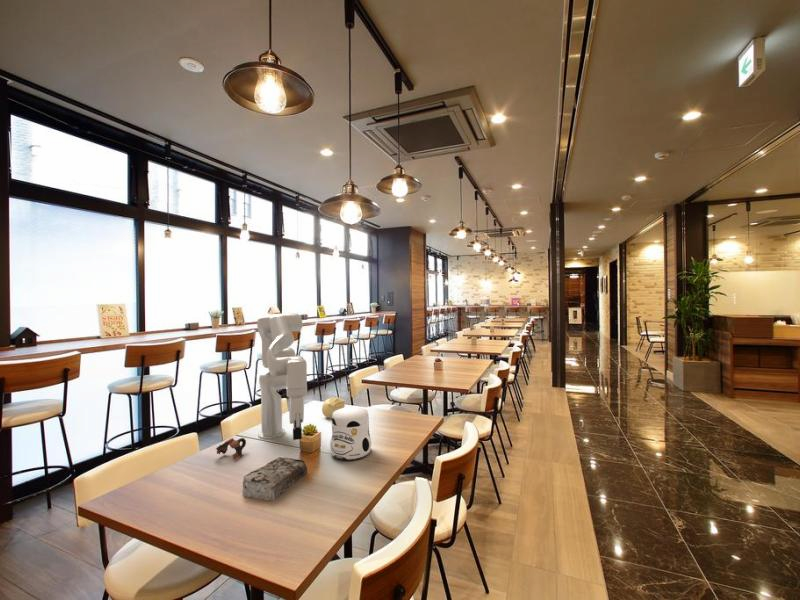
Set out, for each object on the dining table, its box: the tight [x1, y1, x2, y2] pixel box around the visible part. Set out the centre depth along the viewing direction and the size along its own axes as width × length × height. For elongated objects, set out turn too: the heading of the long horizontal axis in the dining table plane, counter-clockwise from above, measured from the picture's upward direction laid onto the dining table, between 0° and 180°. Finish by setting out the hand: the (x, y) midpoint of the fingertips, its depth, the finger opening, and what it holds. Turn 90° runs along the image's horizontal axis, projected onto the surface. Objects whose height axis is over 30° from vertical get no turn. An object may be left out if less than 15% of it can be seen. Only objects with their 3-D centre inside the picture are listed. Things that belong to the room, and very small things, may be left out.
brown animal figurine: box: [215, 437, 247, 460], centre depth 149 cm, size 12×9×8 cm
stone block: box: [241, 456, 308, 501], centre depth 124 cm, size 13×7×20 cm
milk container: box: [329, 406, 372, 462], centre depth 148 cm, size 17×17×18 cm
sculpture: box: [321, 396, 346, 419], centre depth 197 cm, size 11×12×11 cm
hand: (297, 438), depth 135 cm, fingers closed
